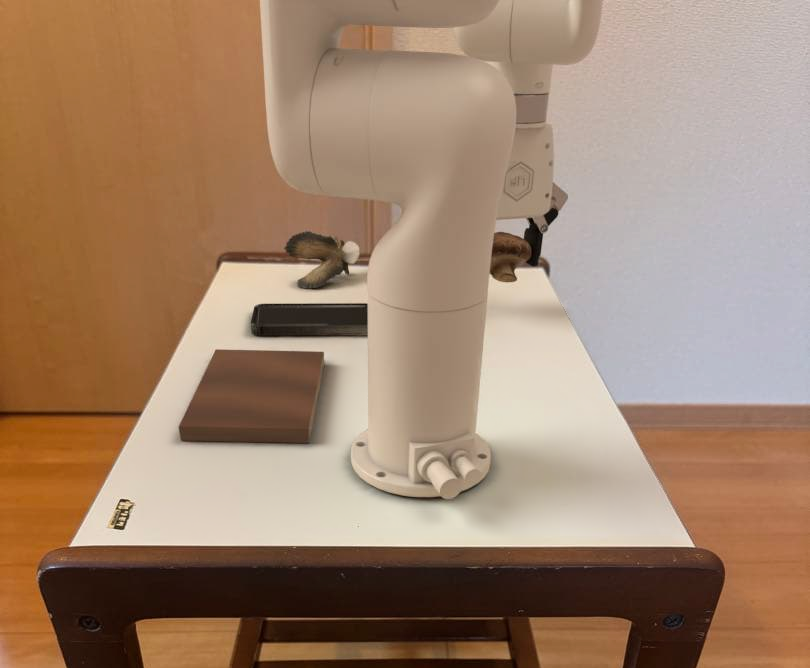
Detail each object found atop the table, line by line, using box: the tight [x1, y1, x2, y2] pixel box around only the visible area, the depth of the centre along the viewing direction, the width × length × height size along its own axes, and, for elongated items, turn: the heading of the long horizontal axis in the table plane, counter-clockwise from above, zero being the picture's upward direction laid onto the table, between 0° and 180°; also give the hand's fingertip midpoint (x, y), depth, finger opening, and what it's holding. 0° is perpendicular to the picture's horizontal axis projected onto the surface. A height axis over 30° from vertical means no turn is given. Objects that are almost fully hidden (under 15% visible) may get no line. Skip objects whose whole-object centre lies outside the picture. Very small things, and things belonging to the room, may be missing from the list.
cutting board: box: [178, 348, 325, 444], centre depth 80 cm, size 18×12×2 cm, turn 0°
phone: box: [250, 302, 368, 336], centre depth 97 cm, size 8×1×15 cm
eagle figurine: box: [283, 230, 361, 289], centre depth 110 cm, size 8×7×9 cm
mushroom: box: [489, 231, 531, 284], centre depth 99 cm, size 8×8×6 cm
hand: (498, 265), depth 99 cm, fingers closed on mushroom, 8 cm apart
